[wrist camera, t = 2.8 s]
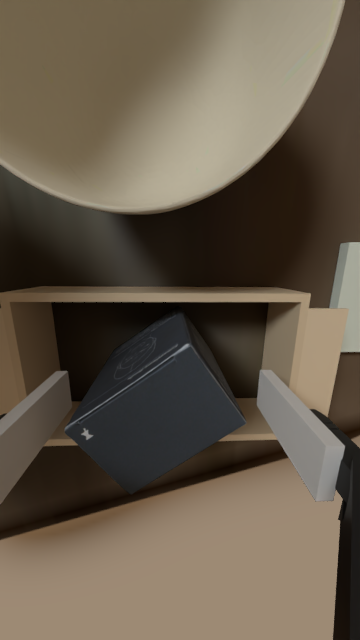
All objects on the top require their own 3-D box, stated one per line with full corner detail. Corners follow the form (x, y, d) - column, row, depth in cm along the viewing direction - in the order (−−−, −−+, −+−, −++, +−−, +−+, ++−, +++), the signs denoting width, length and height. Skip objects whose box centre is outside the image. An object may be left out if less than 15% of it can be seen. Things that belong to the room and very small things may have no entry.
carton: (29, 407, 22) (-12, 447, 17) (7, 286, 19) (-50, 292, 14) (291, 402, 23) (323, 438, 18) (308, 287, 20) (352, 293, 15)
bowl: (-4, 127, 16) (-266, -84, 6) (141, -75, 14) (76, -855, 4) (151, 280, 19) (133, 293, 10) (290, 136, 17) (446, -36, 7)
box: (148, 391, 22) (128, 500, 12) (113, 349, 21) (57, 429, 11) (212, 349, 21) (251, 427, 11) (179, 303, 20) (190, 341, 10)
